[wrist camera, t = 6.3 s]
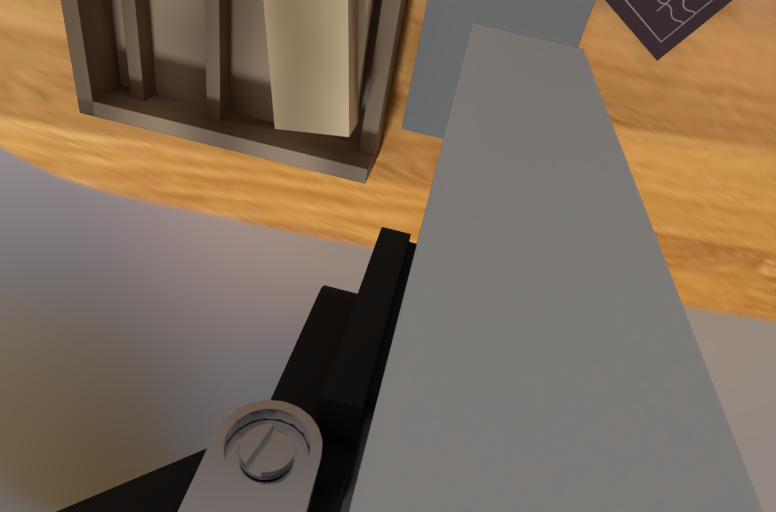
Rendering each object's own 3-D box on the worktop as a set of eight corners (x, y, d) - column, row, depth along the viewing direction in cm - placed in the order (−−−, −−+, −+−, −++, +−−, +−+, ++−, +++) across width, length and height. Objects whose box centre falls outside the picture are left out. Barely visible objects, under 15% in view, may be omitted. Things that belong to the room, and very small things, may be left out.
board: (583, 49, 12) (900, 869, 2) (480, 320, 17) (434, 958, 7) (473, 23, 12) (303, 693, 2) (402, 300, 17) (249, 900, 7)
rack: (425, -104, 23) (413, -99, 20) (379, 153, 30) (365, 183, 28) (86, -179, 24) (29, -185, 21) (119, 89, 31) (79, 112, 28)
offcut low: (381, -41, 24) (373, -35, 23) (359, 112, 28) (350, 125, 27) (303, -59, 24) (290, -54, 23) (292, 95, 28) (280, 108, 27)
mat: (614, -62, 23) (616, -60, 22) (534, 155, 29) (535, 161, 28) (448, -99, 23) (447, -98, 23) (403, 124, 29) (401, 128, 29)
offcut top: (358, -27, 23) (348, -20, 21) (358, 121, 27) (349, 137, 25) (276, -33, 23) (261, -26, 22) (287, 114, 27) (274, 128, 26)
